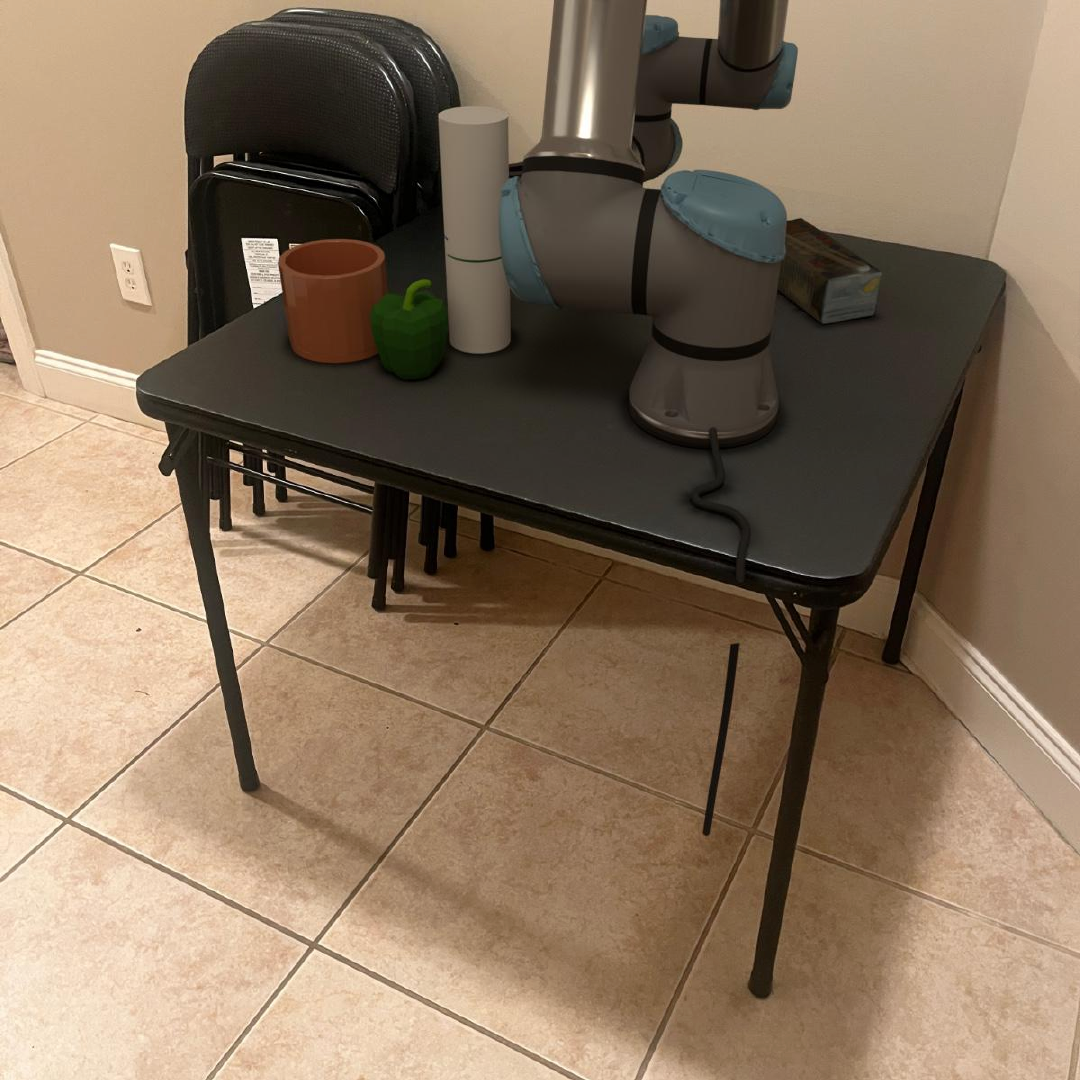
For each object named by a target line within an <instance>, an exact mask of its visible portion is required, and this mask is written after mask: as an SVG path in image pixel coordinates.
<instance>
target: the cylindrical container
mask: <svg viewBox="0 0 1080 1080" xmlns="http://www.w3.org/2000/svg"><path fill="white" fill-rule="evenodd" d="M438 134H439V135H438V136H439V138H438V139H439V157H440V176H441V177H440V178H441V190H442V198H443V215H442V216H443V234H444V255H445V275H446V276H445V277H446V295H447V296H446V297H447V308H448V332H449V333H448V336H449V337H448V338H449V343H450V345H451V347H453V348H454V349H456V350H458V351H460V352H464V353H469V354H490V353H495V352H498V351H501V350H503V349H505V348H506V347H508V346H509V345H510V343H511V342H512V341H511V340H512V338H511V337H512V331H511V328H512V327H511V325H512V324H511V323H512V322H511V321H512V320H511V288H510V287H509V284H508V282H507V279H506V276H505V272H504V268H503V263H502V257H501V249H500V237H499V206H500V200H501V198H502V188H503V185H504V183H505V182H506V181H507V180H508V179H509V164H510V155H509V154H510V152H509V151H510V149H509V113H508V112H507V111H506V110H504V109H500V108H497V107H491V106H480V105H479V106H478V105H470V106H469V105H468V106H456V107H451V108H447V109H444V110H442V111H441V112H439V113H438Z"/></svg>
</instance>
